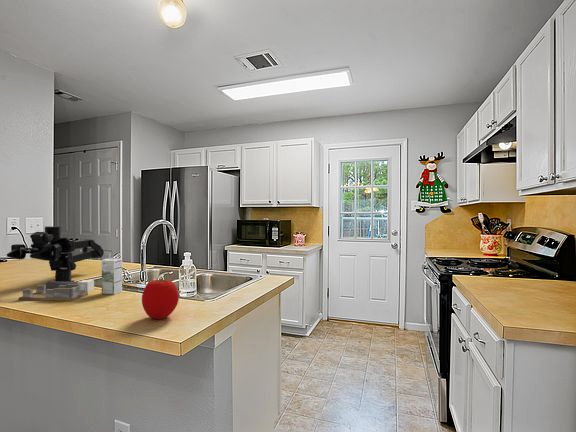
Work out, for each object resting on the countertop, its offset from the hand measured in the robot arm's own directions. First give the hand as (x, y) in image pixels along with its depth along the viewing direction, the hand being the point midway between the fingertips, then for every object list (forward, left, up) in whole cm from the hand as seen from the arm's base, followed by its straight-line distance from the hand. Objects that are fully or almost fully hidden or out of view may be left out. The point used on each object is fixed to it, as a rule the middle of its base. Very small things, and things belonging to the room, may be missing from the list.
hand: (18, 255), depth 127 cm
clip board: (0, +14, -17) cm, 22 cm away
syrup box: (-8, +33, -17) cm, 38 cm away
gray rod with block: (-11, +13, -17) cm, 24 cm away
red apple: (+22, +66, -17) cm, 71 cm away
